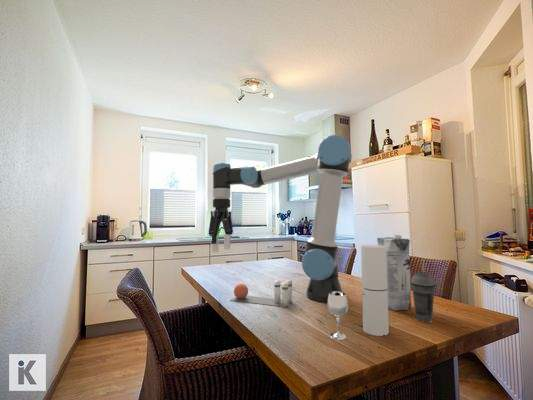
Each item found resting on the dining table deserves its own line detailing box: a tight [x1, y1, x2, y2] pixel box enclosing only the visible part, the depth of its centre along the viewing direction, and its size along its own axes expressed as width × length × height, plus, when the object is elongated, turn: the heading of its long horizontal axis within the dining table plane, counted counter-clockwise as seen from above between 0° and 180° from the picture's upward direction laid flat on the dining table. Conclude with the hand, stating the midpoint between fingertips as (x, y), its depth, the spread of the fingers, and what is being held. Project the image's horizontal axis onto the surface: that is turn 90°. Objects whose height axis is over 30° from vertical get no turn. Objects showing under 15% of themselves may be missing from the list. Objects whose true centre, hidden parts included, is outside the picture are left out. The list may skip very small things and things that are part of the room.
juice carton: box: [376, 234, 412, 312], centre depth 105 cm, size 9×10×27 cm
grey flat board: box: [230, 295, 292, 308], centre depth 112 cm, size 24×8×1 cm, turn 69°
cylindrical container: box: [360, 244, 390, 337], centre depth 83 cm, size 7×7×25 cm
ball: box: [233, 283, 249, 299], centre depth 115 cm, size 6×6×6 cm
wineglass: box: [326, 291, 349, 341], centre depth 79 cm, size 6×6×12 cm
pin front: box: [273, 279, 282, 303], centre depth 110 cm, size 2×2×8 cm
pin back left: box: [281, 282, 289, 308], centre depth 106 cm, size 2×2×8 cm
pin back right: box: [285, 279, 293, 304], centre depth 111 cm, size 2×2×8 cm
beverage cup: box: [410, 258, 437, 323], centre depth 92 cm, size 7×7×20 cm
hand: (221, 250), depth 120 cm, fingers open, 9 cm apart
